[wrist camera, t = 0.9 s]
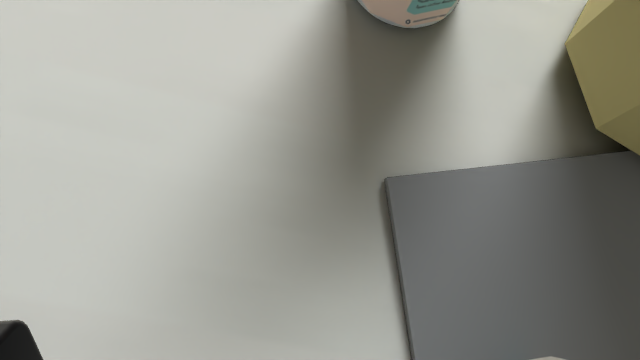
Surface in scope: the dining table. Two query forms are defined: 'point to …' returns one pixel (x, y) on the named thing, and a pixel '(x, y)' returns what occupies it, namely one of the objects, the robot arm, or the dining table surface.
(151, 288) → the dining table surface
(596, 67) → the jar
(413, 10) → the beer can
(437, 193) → the mat
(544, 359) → the tile
